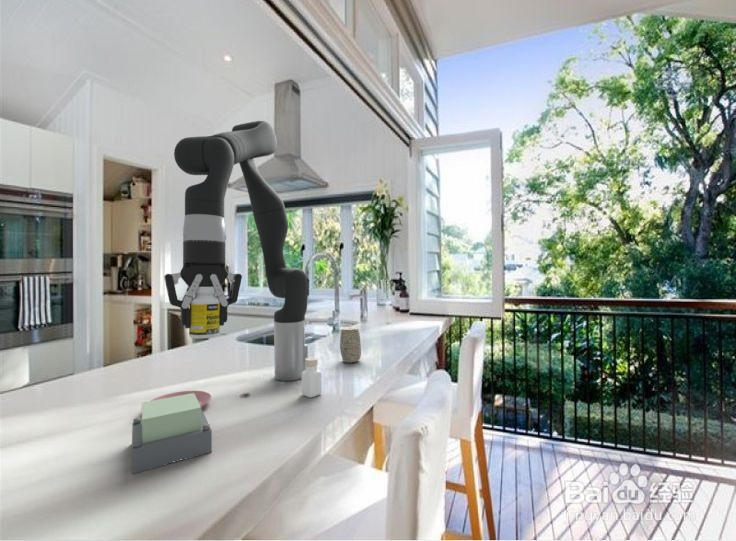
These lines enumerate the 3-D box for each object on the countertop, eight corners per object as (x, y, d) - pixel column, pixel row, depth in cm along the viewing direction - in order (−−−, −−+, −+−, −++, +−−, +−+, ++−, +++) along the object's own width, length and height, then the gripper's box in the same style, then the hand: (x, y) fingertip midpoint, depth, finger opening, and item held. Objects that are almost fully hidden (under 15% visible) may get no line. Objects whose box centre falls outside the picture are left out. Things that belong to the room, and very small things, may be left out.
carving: (339, 359, 127) (339, 326, 126) (360, 358, 127) (360, 326, 127) (340, 364, 120) (339, 329, 120) (361, 363, 121) (361, 329, 121)
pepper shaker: (300, 395, 91) (300, 359, 91) (313, 391, 94) (312, 356, 94) (310, 398, 89) (309, 361, 89) (322, 394, 92) (322, 358, 92)
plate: (167, 398, 91) (167, 390, 91) (221, 398, 90) (221, 390, 90) (127, 422, 76) (127, 413, 76) (191, 422, 76) (191, 413, 76)
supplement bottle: (208, 339, 65) (208, 287, 65) (182, 338, 66) (182, 286, 66) (225, 334, 70) (225, 286, 70) (201, 333, 71) (201, 285, 71)
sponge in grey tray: (201, 427, 73) (201, 389, 73) (211, 452, 63) (211, 408, 63) (132, 443, 67) (132, 401, 67) (132, 474, 57) (131, 425, 57)
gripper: (237, 243, 75) (237, 321, 75) (160, 239, 67) (160, 327, 67) (247, 240, 69) (247, 325, 69) (163, 236, 61) (163, 332, 61)
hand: (204, 326), depth 68 cm, fingers closed on supplement bottle, 5 cm apart
